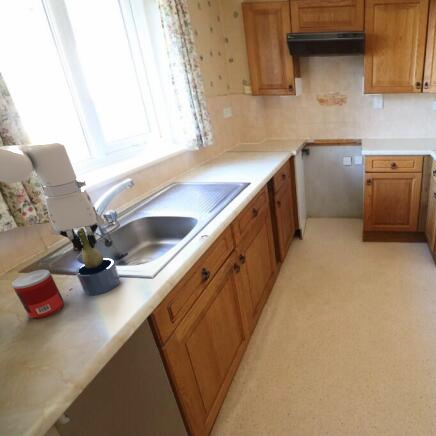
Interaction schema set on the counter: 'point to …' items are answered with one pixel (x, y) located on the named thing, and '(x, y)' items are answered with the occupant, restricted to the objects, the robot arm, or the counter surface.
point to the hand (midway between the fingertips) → (87, 247)
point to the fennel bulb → (89, 252)
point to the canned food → (38, 293)
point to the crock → (98, 278)
